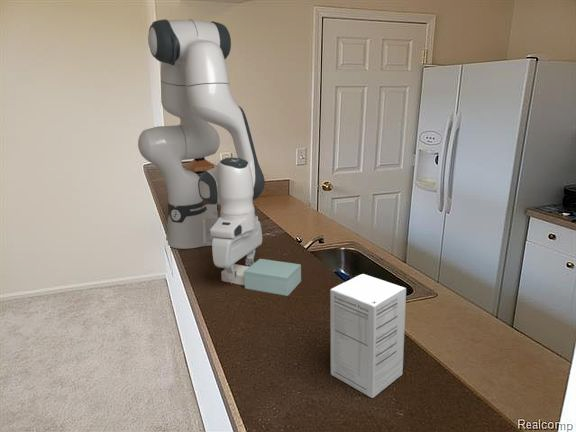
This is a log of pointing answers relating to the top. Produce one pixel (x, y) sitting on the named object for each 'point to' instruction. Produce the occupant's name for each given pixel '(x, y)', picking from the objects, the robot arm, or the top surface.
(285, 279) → the case
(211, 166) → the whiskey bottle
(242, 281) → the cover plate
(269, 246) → the top surface
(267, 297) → the top surface
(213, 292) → the top surface
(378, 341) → the supplement box
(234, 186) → the robot arm
